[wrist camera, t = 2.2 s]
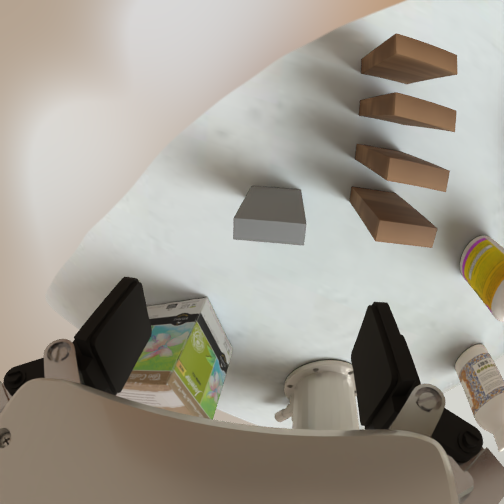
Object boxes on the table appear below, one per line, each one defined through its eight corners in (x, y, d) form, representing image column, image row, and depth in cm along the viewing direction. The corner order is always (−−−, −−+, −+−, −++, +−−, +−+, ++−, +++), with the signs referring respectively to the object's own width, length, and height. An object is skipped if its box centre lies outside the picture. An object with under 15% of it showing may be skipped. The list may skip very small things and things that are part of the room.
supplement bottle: (450, 275, 30) (497, 341, 18) (469, 229, 27) (529, 284, 15) (482, 281, 29) (527, 340, 18) (500, 239, 26) (555, 290, 15)
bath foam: (451, 357, 36) (488, 454, 18) (483, 336, 33) (528, 427, 16) (456, 375, 38) (486, 462, 20) (485, 356, 35) (522, 439, 18)
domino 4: (392, 207, 27) (431, 247, 18) (349, 201, 28) (375, 241, 19) (395, 193, 27) (437, 228, 18) (351, 186, 27) (379, 220, 18)
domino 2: (404, 124, 23) (454, 132, 14) (358, 115, 24) (394, 114, 15) (405, 110, 23) (456, 110, 14) (360, 100, 23) (395, 92, 14)
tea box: (207, 292, 35) (167, 385, 22) (234, 348, 39) (212, 437, 26) (120, 307, 39) (69, 377, 26) (151, 354, 43) (115, 425, 30)
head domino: (299, 204, 29) (303, 245, 20) (251, 200, 29) (233, 239, 20) (300, 189, 28) (306, 224, 19) (251, 185, 28) (233, 218, 20)
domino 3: (399, 166, 25) (445, 192, 16) (355, 159, 26) (386, 180, 17) (401, 151, 25) (449, 171, 16) (356, 143, 25) (390, 157, 16)
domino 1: (406, 84, 21) (457, 74, 12) (361, 73, 22) (396, 53, 13) (407, 70, 21) (456, 55, 12) (361, 59, 21) (396, 33, 12)
